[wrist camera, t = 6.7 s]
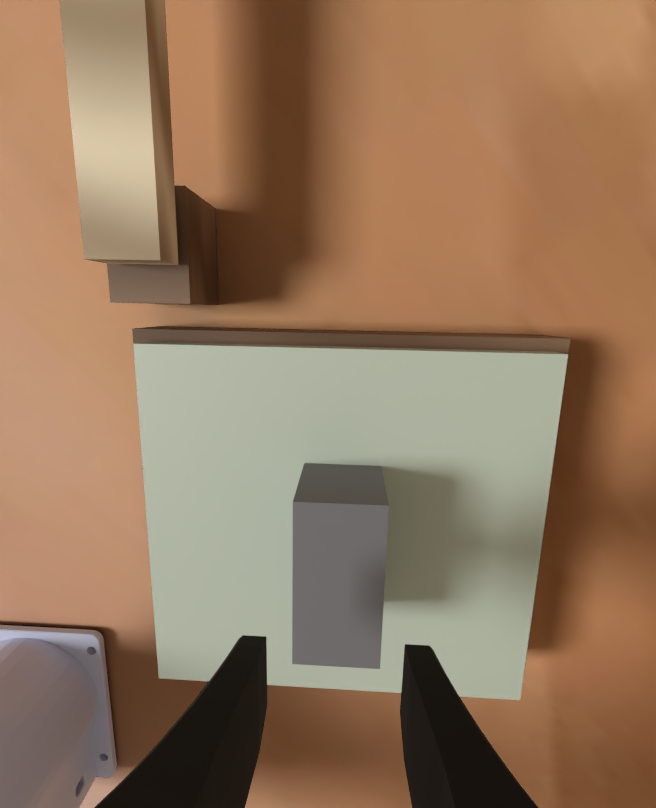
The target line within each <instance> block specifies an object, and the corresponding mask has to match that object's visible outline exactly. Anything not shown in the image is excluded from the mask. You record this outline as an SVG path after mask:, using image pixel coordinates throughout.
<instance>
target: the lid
mask: <svg viewBox="0 0 656 808" xmlns="http://www.w3.org/2000/svg"><path fill="white" fill-rule="evenodd" d="M133 345H134V358H135V371H136V384H137V398H138V411H139V424H140V437H141V450H142V464H143V477H144V490H145V503H146V516H147V530H148V543H149V556H150V569H151V582H152V596H153V609H154V622H155V635H156V648H157V662H158V675H159V678H160V679H176V680H193V681H210V679H211V678H212V677H213V675H214V674H215V673H216V671H217V670H218V668H219V667H220V666H221V664H222V663H223V661H224V660H225V658H226V657H227V656H228V654H229V653H230V651H231V650H232V648H233V647H234V645H235V644H236V642H237V640H238V639H239V638H240V637H241V636H243V635H247V636H265V637H266V646H267V685H276V686H293V687H309V688H326V689H343V690H359V691H376V692H393V693H401V692H402V678H403V663H404V648H405V644H410V645H428V646H430V647H431V648H432V649H433V650H434V652H435V654H436V656H437V658H438V660H439V662H440V664H441V666H442V667H443V669H444V671H445V673H446V675H447V676H448V678H449V680H450V682H451V683H452V685H453V687H454V688H455V690H456V692H457V694H458V695H459V697H476V698H492V699H509V700H520V698H521V691H522V684H523V676H524V669H525V662H526V655H527V648H528V640H529V633H530V626H531V619H532V612H533V604H534V597H535V590H536V583H537V576H538V568H539V561H540V554H541V547H542V540H543V532H544V525H545V518H546V511H547V504H548V496H549V489H550V482H551V475H552V468H553V460H554V453H555V446H556V439H557V432H558V424H559V417H560V410H561V403H562V395H563V388H564V381H565V374H566V367H567V359H568V354H564V353H559V352H547V351H506V350H465V349H424V348H383V347H342V346H301V345H260V344H220V343H179V342H141V343H134V344H133Z"/></svg>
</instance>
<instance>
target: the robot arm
mask: <svg viewBox="0 0 656 808" xmlns="http://www.w3.org/2000/svg"><path fill="white" fill-rule="evenodd" d="M92 647H93V648H95V649H96V650H95V649H93V648H92ZM266 708H267V646H266V637H265V636H247V635H243V636H241V637H240V638H239V639H238V640H237V642H236V644H235V645H234V647H233V648H232V650H231V651H230V653H229V654H228V656H227V657H226V658H225V660H224V661H223V663H222V664H221V666H220V667H219V668H218V670H217V671H216V673H215V674H214V675H213V677H212V678H211V679H210V681H209V682H208V683H207V685H206V686H205V687H204V689H203V690H202V691H201V692H200V694H199V695H198V696H197V698H196V699H195V700H194V701H193V703H192V704H191V705H190V707H189V708H188V709H187V710H186V711H185V713H184V714H183V715H182V716H181V717H180V719H179V720H178V721H177V722H176V723H175V724H174V726H173V727H172V728H171V729H170V730H169V731H168V733H167V734H166V735H165V736H164V737H163V738H162V740H161V741H160V742H159V743H158V744H157V745H156V746H155V747H154V748H153V750H152V751H151V752H150V753H149V754H148V755H147V756H146V757H145V758H144V759H143V760H142V761H141V762H140V763H139V765H138V766H137V767H136V768H135V769H134V770H133V771H132V772H131V773H130V774H129V775H128V776H127V777H126V778H125V779H124V780H123V781H122V782H121V783H120V784H119V785H118V786H117V787H116V788H115V789H114V790H112V791H111V792H110V793H109V794H108V795H107V796H106V797H105V798H104V799H103V800H102V801H101V802H100V803H99V804H98V805H97V806H96V807H95V808H245V804H246V801H247V797H248V793H249V789H250V785H251V781H252V778H253V774H254V770H255V766H256V762H257V758H258V754H259V750H260V744H261V738H262V733H263V727H264V720H265V714H266ZM400 716H401V728H402V740H403V751H404V762H405V768H406V773H407V779H408V785H409V791H410V796H411V802H412V808H538V807H537V806H536V804H535V803H534V802H533V801H532V799H531V798H530V797H529V796H528V794H527V793H526V792H525V791H524V789H523V788H522V787H521V785H520V784H519V783H518V782H517V780H516V779H515V778H514V776H513V775H512V774H511V772H510V771H509V770H508V768H507V767H506V765H505V764H504V763H503V761H502V760H501V758H500V757H499V756H498V754H497V753H496V752H495V750H494V749H493V747H492V746H491V744H490V743H489V742H488V740H487V739H486V737H485V736H484V734H483V733H482V731H481V730H480V728H479V727H478V725H477V724H476V722H475V720H474V719H473V717H472V716H471V714H470V713H469V711H468V710H467V708H466V707H465V705H464V703H463V702H462V700H461V699H460V697H459V695H458V694H457V692H456V690H455V688H454V687H453V685H452V683H451V682H450V680H449V678H448V676H447V675H446V673H445V671H444V669H443V667H442V666H441V664H440V662H439V660H438V658H437V656H436V654H435V652H434V650H433V649H432V648H431V647H430V646H428V645H410V644H405V648H404V663H403V678H402V692H401V707H400ZM116 768H117V761H116V752H115V743H114V733H113V724H112V714H111V705H110V695H109V686H108V676H107V667H106V658H105V648H104V639H103V636H102V634H101V633H100V632H98V631H96V630H84V629H66V628H48V627H30V626H12V625H0V808H79V807H80V805H81V803H82V802H83V800H84V798H85V796H86V794H87V792H88V791H89V789H90V787H91V785H92V783H93V781H94V780H95V778H96V777H104V778H108V777H111V776H112V775H113V774H114V772H115V770H116Z"/></svg>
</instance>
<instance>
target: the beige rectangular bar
mask: <svg viewBox="0 0 656 808" xmlns="http://www.w3.org/2000/svg"><path fill="white" fill-rule="evenodd" d="M60 11H61V21H62V32H63V42H64V52H65V63H66V73H67V84H68V94H69V105H70V115H71V125H72V136H73V146H74V157H75V167H76V178H77V188H78V198H79V209H80V219H81V230H82V240H83V251H84V259H86V260H92V261H97V262H102V263H108V264H151V265H178V246H177V227H176V207H175V188H174V169H173V149H172V130H171V111H170V91H169V72H168V52H167V33H166V14H165V0H60Z"/></svg>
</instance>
